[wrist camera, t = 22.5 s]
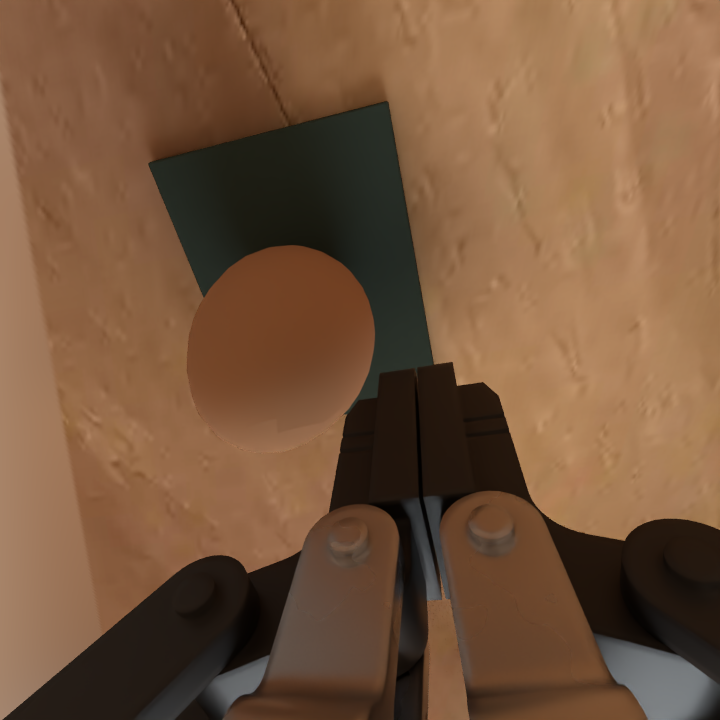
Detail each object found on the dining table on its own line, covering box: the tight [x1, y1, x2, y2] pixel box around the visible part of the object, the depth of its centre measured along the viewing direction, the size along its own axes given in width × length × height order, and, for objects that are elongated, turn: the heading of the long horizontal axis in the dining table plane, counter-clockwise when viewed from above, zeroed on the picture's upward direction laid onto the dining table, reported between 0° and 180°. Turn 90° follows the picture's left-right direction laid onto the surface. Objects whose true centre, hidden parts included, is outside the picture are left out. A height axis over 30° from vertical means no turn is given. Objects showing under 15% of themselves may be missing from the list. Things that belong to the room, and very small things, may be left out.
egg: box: [187, 245, 375, 453], centre depth 14 cm, size 5×5×8 cm
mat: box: [149, 101, 434, 415], centre depth 17 cm, size 11×8×1 cm
